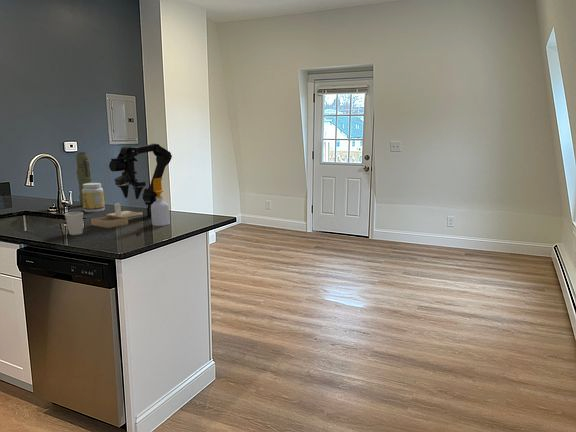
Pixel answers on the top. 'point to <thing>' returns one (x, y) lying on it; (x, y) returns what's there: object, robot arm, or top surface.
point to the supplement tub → (93, 197)
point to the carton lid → (123, 213)
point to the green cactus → (83, 172)
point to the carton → (109, 221)
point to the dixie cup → (74, 222)
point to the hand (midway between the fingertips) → (131, 198)
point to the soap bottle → (159, 206)
